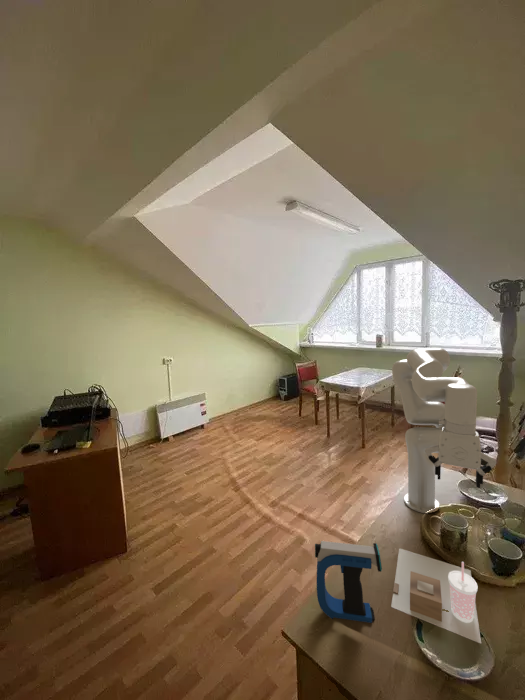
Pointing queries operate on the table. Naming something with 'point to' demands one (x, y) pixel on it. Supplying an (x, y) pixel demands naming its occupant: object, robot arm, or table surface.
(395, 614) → the table surface
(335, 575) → the table surface
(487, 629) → the table surface
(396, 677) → the table surface
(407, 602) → the subfloor panel
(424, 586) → the block
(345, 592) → the handheld scanner
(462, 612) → the beverage cup
